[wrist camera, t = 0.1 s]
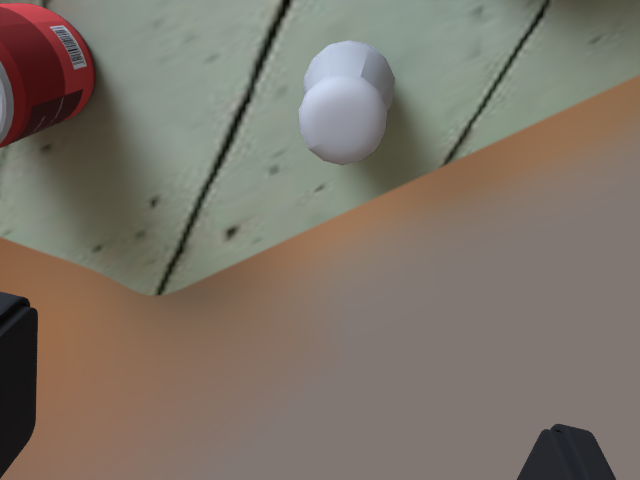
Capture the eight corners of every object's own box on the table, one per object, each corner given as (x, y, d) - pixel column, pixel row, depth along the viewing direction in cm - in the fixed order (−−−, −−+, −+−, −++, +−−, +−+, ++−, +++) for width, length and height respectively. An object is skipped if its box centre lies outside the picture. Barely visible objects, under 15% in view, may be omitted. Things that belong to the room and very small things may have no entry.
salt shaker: (306, 37, 37) (277, 59, 25) (394, 37, 37) (406, 58, 25) (308, 126, 39) (282, 183, 28) (390, 126, 39) (400, 185, 27)
